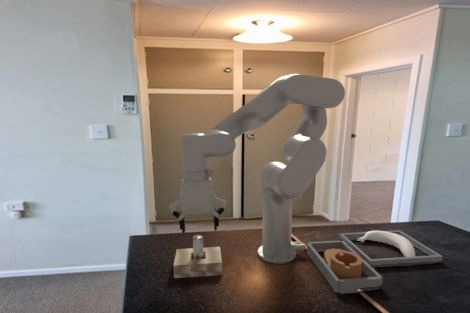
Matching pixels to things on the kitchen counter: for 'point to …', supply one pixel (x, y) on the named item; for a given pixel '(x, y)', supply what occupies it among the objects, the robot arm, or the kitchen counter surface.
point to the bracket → (343, 263)
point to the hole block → (197, 263)
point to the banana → (390, 241)
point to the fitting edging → (335, 283)
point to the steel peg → (198, 247)
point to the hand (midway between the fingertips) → (199, 229)
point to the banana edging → (431, 258)
